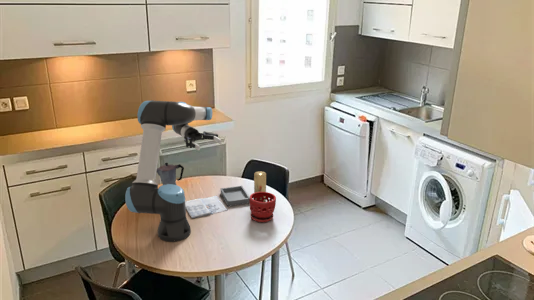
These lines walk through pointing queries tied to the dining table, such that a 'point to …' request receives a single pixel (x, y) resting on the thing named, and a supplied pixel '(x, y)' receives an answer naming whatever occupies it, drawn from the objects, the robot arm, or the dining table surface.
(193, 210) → the bicycle print cloth
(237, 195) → the slate tray
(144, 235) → the dining table surface
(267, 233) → the dining table surface
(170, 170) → the moka pot
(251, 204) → the plant pot
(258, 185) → the cylinder
